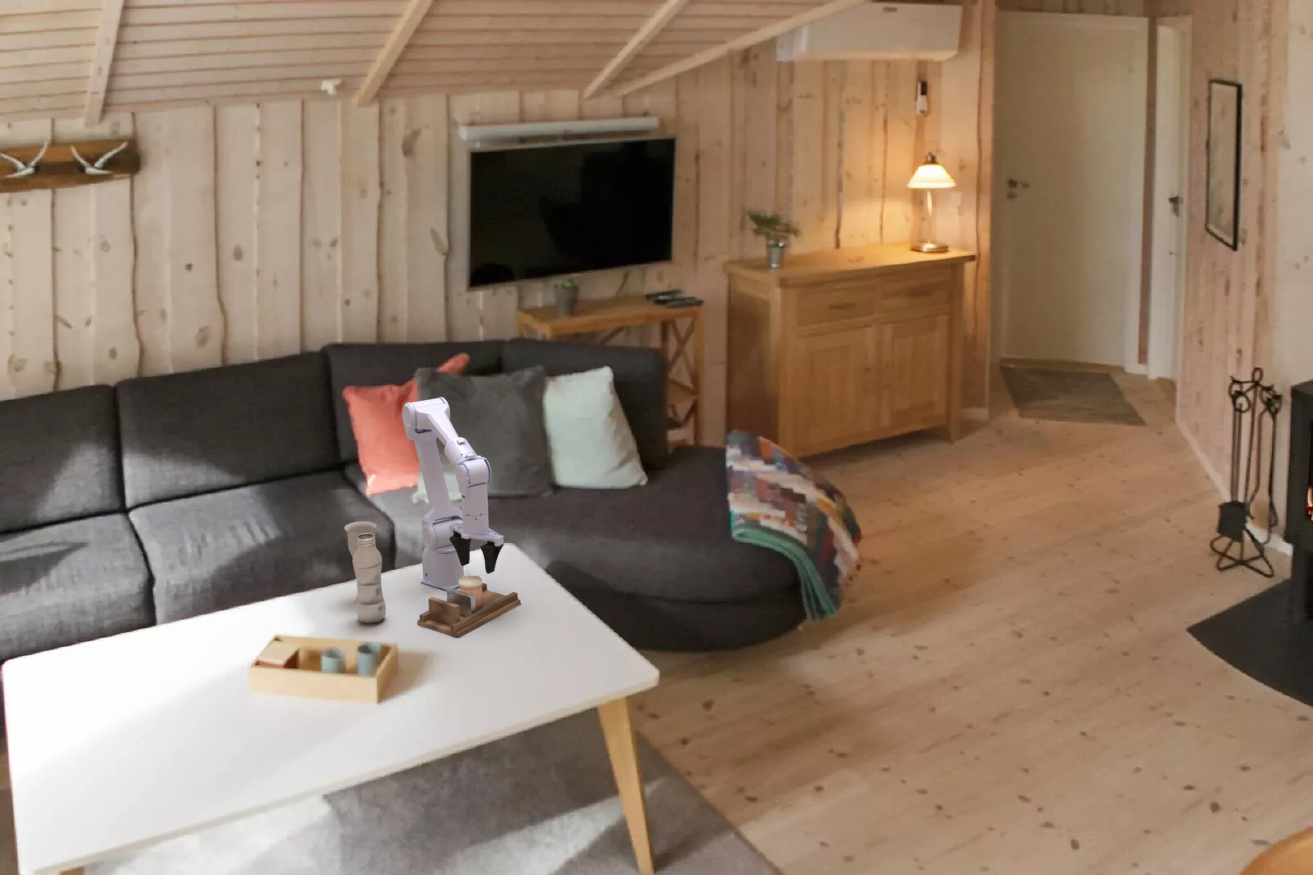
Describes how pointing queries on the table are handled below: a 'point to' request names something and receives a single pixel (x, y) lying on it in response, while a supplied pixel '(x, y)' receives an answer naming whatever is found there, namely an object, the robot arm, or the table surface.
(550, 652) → the table surface
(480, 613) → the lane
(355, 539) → the chalice
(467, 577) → the jar
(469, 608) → the plate
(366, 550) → the plastic bottle
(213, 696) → the table surface
